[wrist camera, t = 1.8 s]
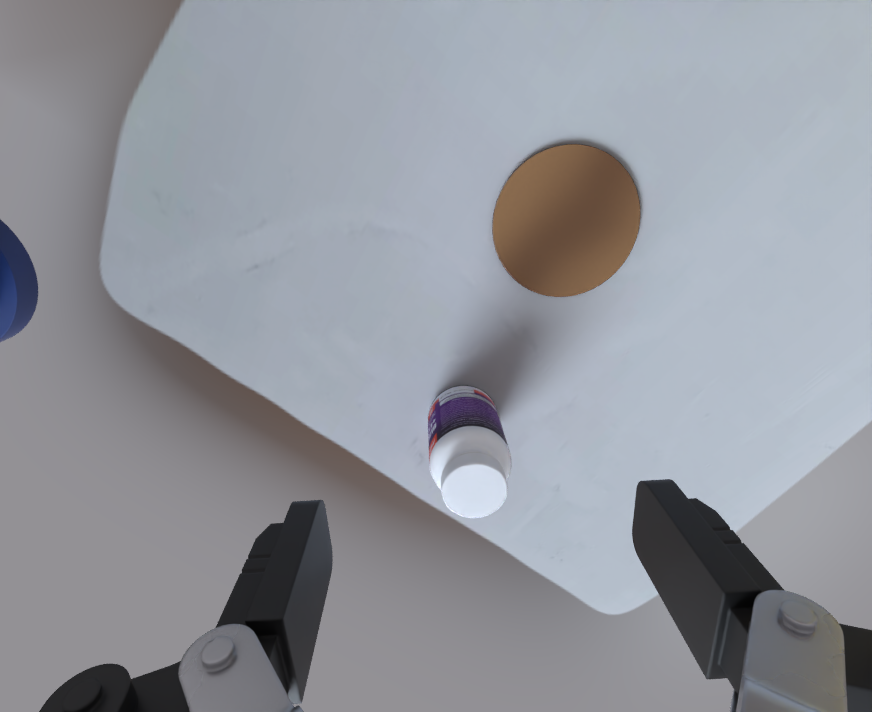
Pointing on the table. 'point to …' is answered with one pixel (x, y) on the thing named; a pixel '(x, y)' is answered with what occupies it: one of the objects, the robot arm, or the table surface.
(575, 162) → the coaster
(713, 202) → the table surface
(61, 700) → the robot arm
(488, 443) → the pill bottle
